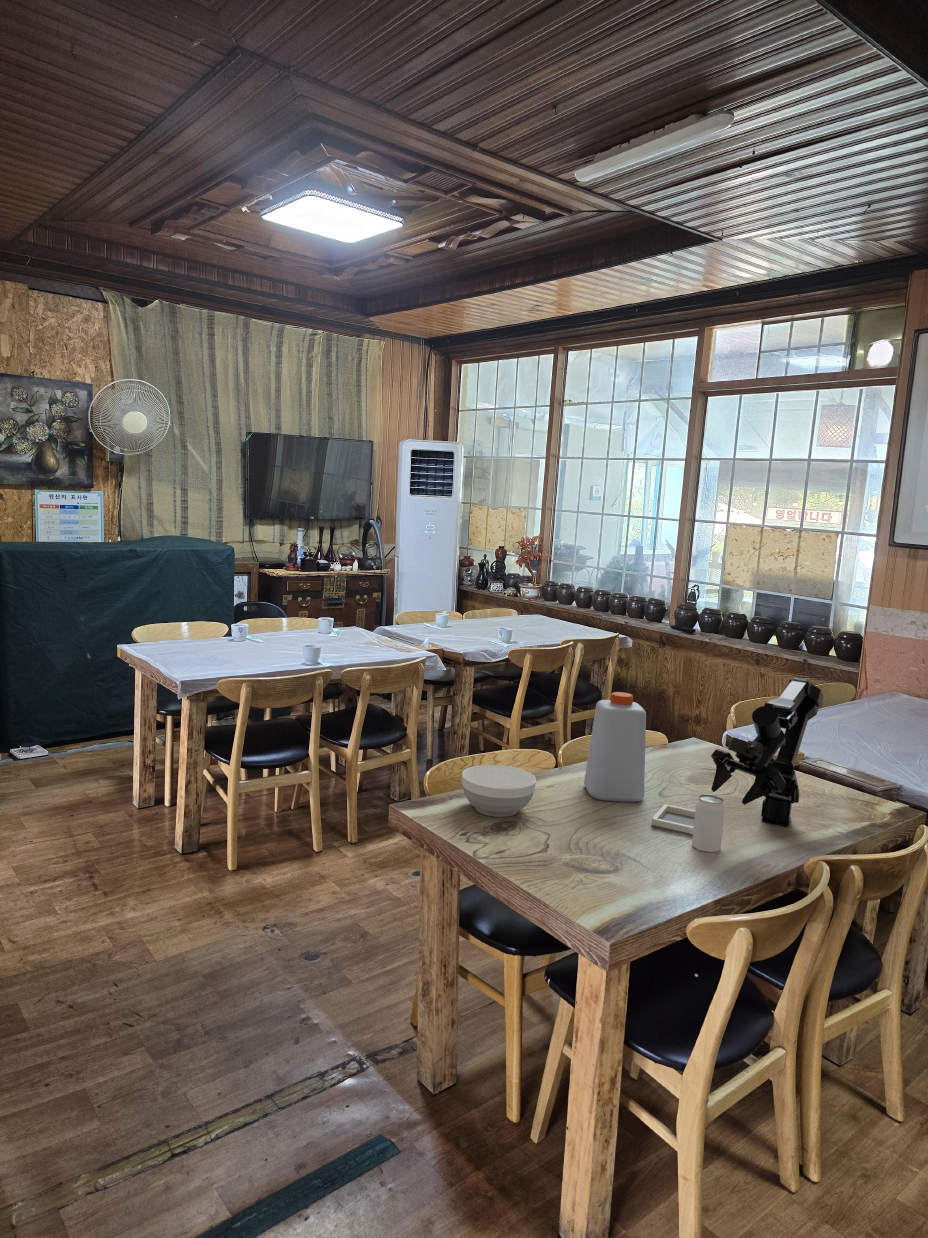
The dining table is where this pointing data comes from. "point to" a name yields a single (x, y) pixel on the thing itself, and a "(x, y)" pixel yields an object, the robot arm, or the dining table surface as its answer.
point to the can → (708, 823)
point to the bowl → (498, 789)
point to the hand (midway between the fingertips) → (727, 797)
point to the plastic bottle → (617, 750)
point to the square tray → (674, 819)
